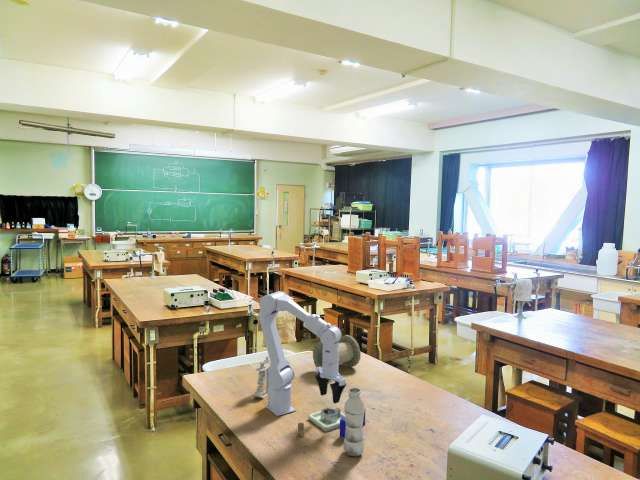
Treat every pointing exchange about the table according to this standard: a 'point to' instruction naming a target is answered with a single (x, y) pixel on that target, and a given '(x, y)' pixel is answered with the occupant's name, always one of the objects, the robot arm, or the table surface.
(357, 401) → the plastic bottle
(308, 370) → the table surface
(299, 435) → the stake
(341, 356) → the spool
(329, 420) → the grey octagonal ring
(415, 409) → the table surface
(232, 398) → the table surface
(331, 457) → the table surface
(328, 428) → the tray
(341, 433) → the cable clip
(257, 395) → the white figurine
